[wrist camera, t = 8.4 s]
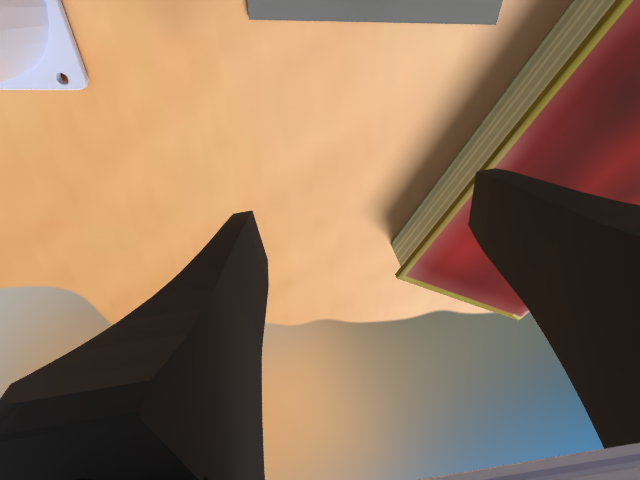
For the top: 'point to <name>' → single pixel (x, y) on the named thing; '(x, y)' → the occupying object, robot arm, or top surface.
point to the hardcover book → (538, 147)
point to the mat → (378, 11)
